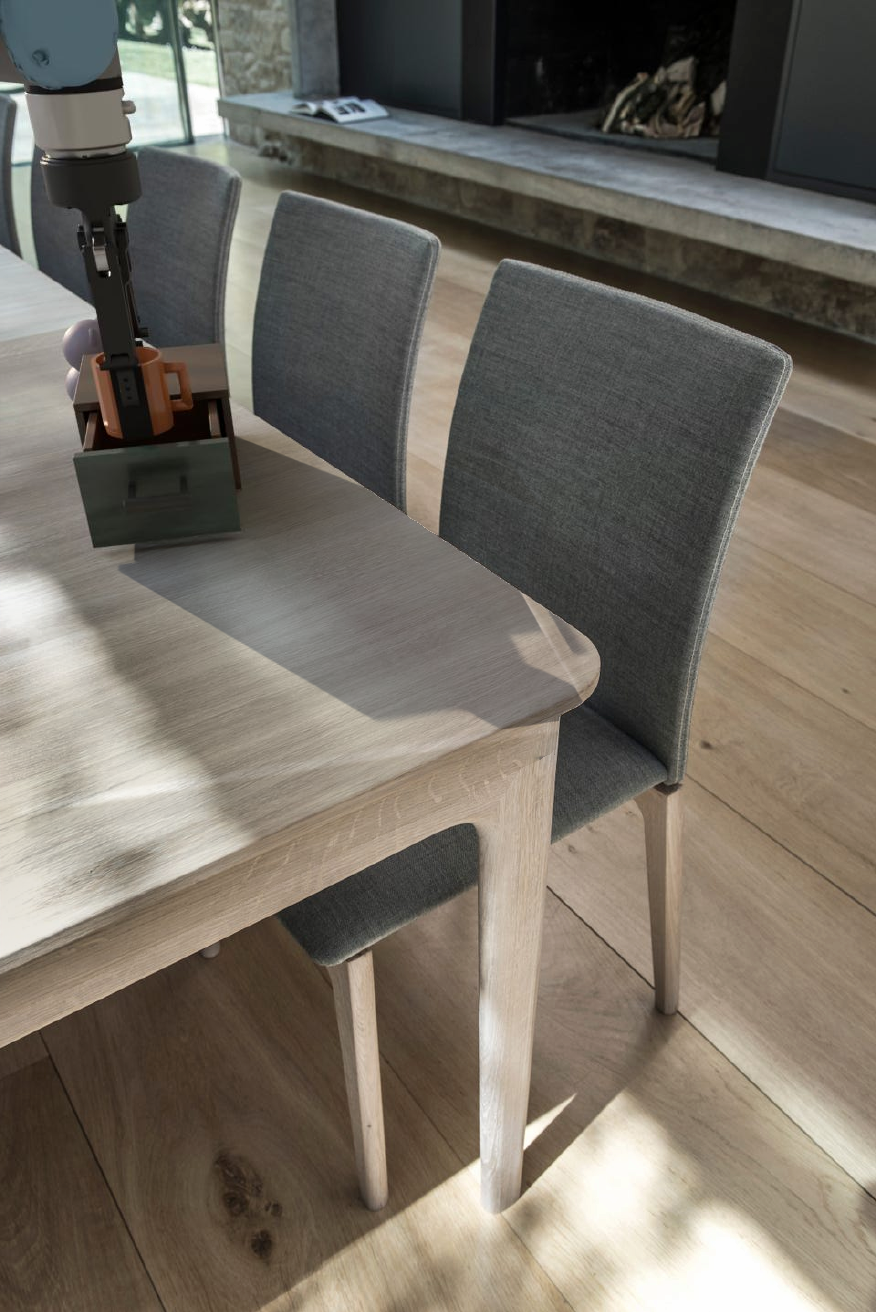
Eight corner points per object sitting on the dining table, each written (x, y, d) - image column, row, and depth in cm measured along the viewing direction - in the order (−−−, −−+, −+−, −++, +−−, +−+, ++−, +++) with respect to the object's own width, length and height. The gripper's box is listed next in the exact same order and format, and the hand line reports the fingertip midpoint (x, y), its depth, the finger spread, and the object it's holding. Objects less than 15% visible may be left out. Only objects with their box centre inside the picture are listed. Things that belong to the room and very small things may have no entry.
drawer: (244, 554, 94) (231, 462, 89) (90, 572, 92) (68, 479, 87) (233, 470, 110) (221, 388, 105) (101, 484, 107) (83, 401, 102)
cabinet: (242, 490, 108) (228, 389, 102) (95, 506, 105) (72, 404, 99) (233, 434, 120) (221, 342, 114) (103, 448, 118) (83, 354, 112)
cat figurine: (79, 412, 128) (56, 312, 121) (145, 407, 129) (126, 307, 122) (70, 438, 121) (46, 333, 114) (140, 432, 122) (120, 328, 115)
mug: (104, 442, 94) (89, 371, 91) (107, 418, 99) (93, 350, 96) (196, 432, 96) (185, 362, 92) (195, 409, 101) (184, 341, 97)
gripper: (131, 165, 77) (181, 458, 90) (137, 132, 93) (179, 386, 106) (25, 171, 76) (91, 468, 89) (49, 137, 92) (102, 393, 104)
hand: (139, 423), depth 97 cm, fingers closed on mug, 6 cm apart
